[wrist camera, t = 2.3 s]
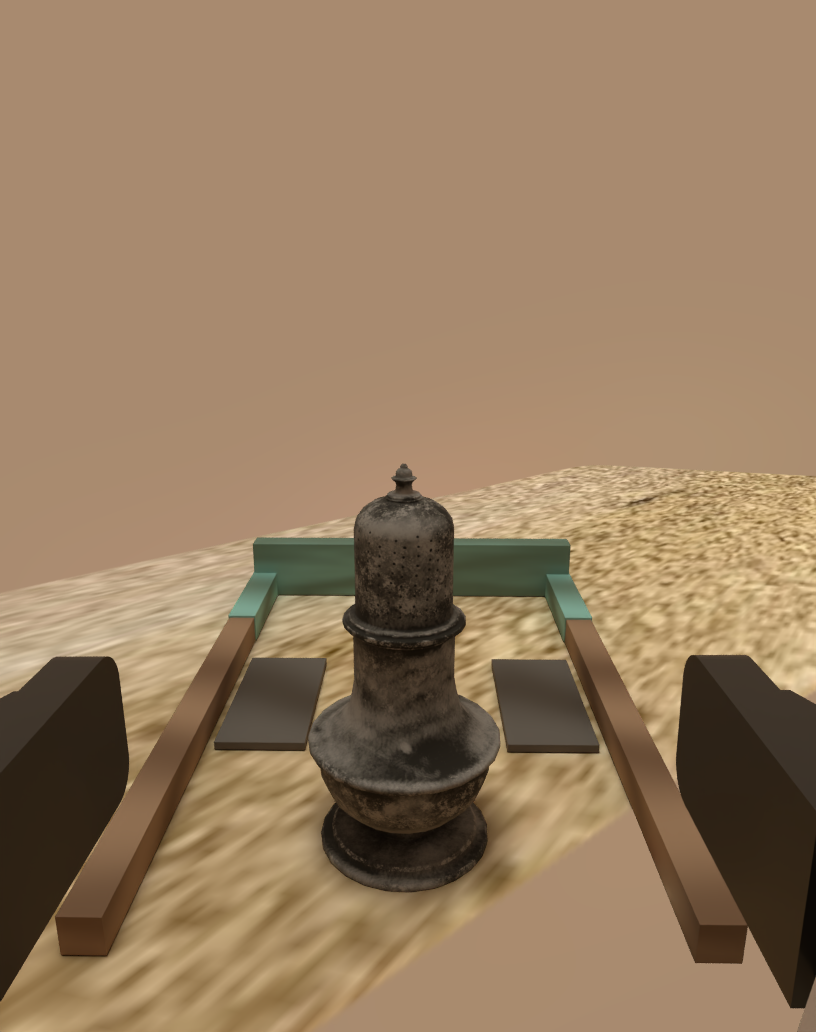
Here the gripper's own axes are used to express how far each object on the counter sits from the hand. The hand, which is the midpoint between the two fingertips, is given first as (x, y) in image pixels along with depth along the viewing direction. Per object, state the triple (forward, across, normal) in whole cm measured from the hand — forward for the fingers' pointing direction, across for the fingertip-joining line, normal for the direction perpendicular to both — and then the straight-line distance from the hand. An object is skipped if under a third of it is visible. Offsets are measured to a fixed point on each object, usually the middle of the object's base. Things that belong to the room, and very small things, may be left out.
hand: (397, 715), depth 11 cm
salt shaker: (+12, 0, +11) cm, 16 cm away
